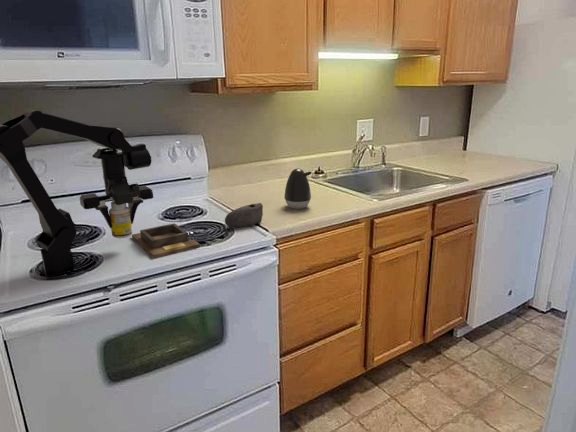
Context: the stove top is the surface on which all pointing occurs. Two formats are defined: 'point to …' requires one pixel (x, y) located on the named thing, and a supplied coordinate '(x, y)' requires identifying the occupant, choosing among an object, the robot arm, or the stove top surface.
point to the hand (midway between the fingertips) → (121, 225)
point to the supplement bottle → (120, 220)
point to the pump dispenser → (297, 189)
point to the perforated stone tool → (245, 216)
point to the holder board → (164, 240)
